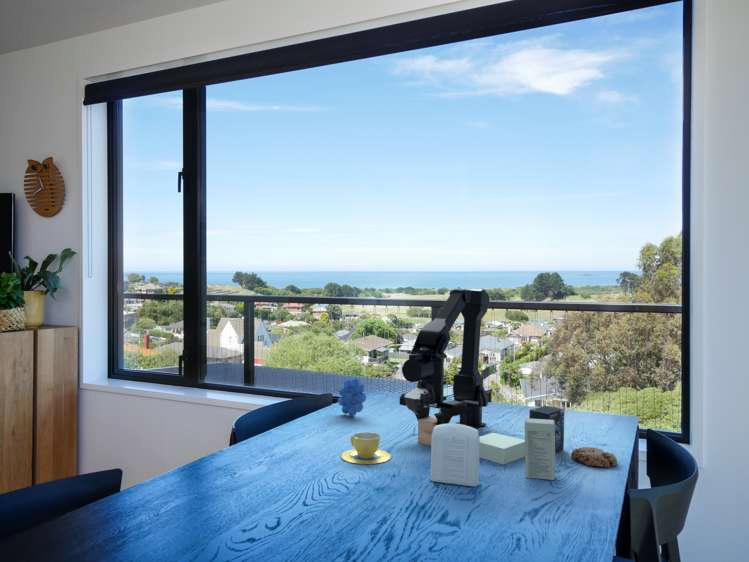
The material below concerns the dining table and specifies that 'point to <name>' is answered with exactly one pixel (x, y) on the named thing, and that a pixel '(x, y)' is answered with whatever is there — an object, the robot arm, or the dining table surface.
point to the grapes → (352, 396)
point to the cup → (365, 449)
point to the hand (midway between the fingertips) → (431, 436)
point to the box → (552, 414)
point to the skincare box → (540, 448)
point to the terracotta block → (426, 429)
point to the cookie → (594, 457)
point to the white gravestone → (455, 454)
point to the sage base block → (501, 448)
